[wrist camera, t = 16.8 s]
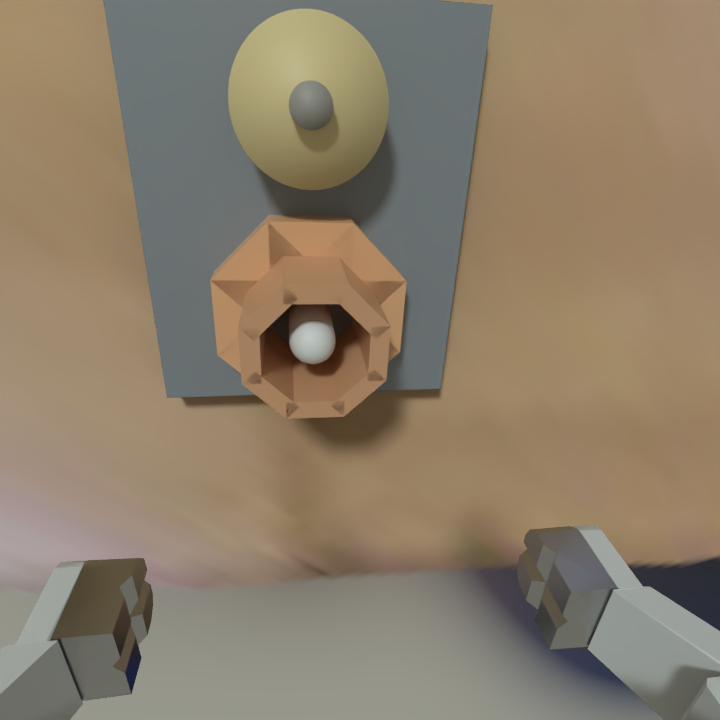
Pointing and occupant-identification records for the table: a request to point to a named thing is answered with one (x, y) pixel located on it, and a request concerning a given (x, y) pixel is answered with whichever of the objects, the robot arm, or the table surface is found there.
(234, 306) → the octagonal tube stub
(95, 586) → the robot arm
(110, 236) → the table surface
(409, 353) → the carrier plate
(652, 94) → the table surface
